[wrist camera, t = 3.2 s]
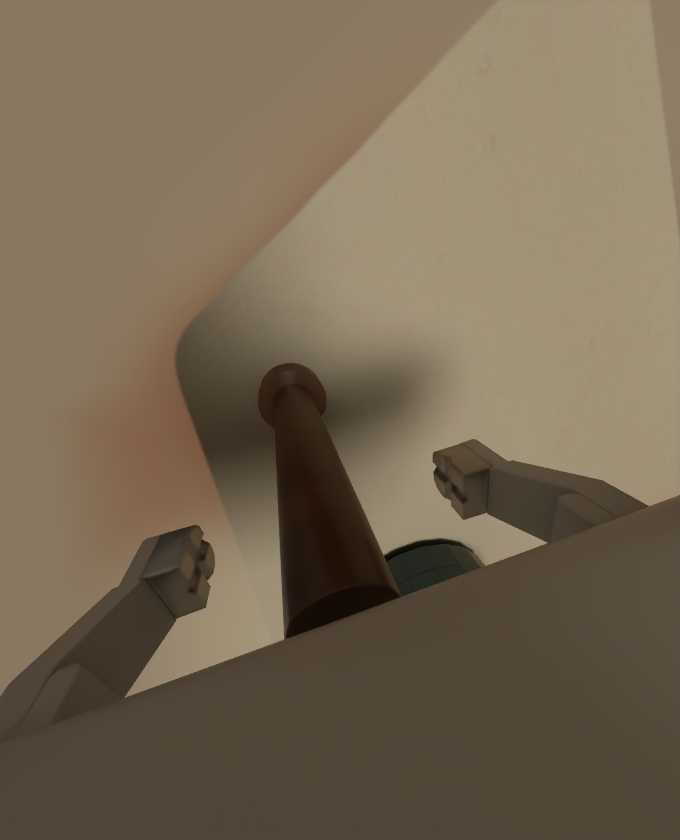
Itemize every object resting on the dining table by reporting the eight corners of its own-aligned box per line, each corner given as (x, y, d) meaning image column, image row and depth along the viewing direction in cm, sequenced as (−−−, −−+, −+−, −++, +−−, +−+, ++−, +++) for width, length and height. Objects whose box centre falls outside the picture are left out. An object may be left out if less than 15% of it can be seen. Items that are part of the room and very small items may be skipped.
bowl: (354, 660, 36) (370, 724, 31) (325, 573, 28) (338, 637, 23) (477, 611, 38) (511, 662, 33) (480, 517, 30) (525, 564, 25)
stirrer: (270, 428, 21) (275, 717, 6) (250, 372, 19) (196, 605, 5) (327, 412, 21) (447, 646, 7) (313, 356, 19) (440, 519, 5)
